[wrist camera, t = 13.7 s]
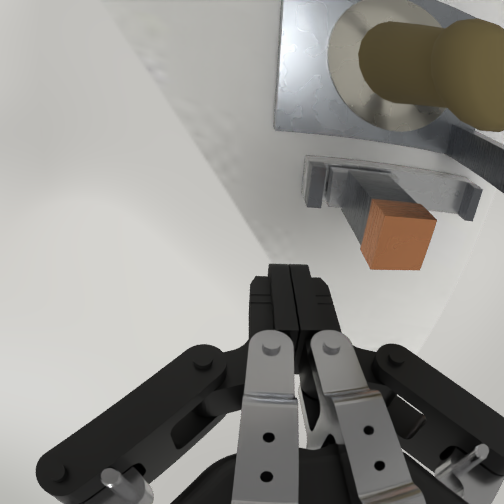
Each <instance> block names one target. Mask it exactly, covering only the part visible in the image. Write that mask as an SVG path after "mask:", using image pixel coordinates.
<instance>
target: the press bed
mask: <svg viewBox="0 0 504 504" xmlns="http://www.w3.org/2000/svg"><path fill="white" fill-rule="evenodd" d="M466 19H477V18H475V17H473V16H471V15H469V14H467V13H465V12H463V11H461V10H458V9H456V8H454V7H451V6H449V5H447V4H444V3H442V2H439V1H437V0H282V1H281V18H280V35H279V52H278V68H277V83H276V98H275V113H274V129H275V131H287V132H300V133H312V134H322V135H332V136H340V137H349V138H357V139H364V140H371V141H378V142H384V143H391V144H397V145H403V146H408V147H414V148H419V149H424V150H429V151H434V152H439V153H444V154H447V155H448V156H450V157H452V158H453V159H455V160H456V161H458V162H459V163H461V164H463V165H464V166H466V167H467V168H469V169H470V170H472V171H473V172H475V173H476V174H477V175H479V176H480V177H482V178H483V179H485V180H486V181H488V182H489V183H490V184H492V185H493V186H494V187H496V188H497V189H499V190H500V191H501V192H503V193H504V145H503V144H501V143H499V142H497V141H495V140H493V139H491V138H489V137H487V136H485V135H483V134H481V133H479V132H476V131H475V128H474V127H472V126H470V125H468V124H466V123H464V122H462V121H460V120H459V119H458V118H457V117H456V116H455V115H454V114H453V113H452V112H451V111H450V110H449V109H448V108H442V107H433V106H423V105H411V104H397V103H393V102H390V101H387V100H384V99H382V98H381V97H380V96H378V95H377V94H376V93H374V92H373V91H372V90H371V88H370V87H369V86H368V84H367V83H366V82H365V80H364V78H363V76H362V73H361V70H360V68H359V58H358V52H359V48H360V44H361V41H362V39H363V38H364V36H365V35H366V33H367V32H368V31H369V30H370V29H371V28H373V27H374V26H376V25H377V24H380V23H384V22H388V21H393V22H403V23H412V24H420V25H427V26H434V27H440V28H447V27H448V26H450V25H451V24H453V23H454V22H456V21H459V20H466Z"/></svg>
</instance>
